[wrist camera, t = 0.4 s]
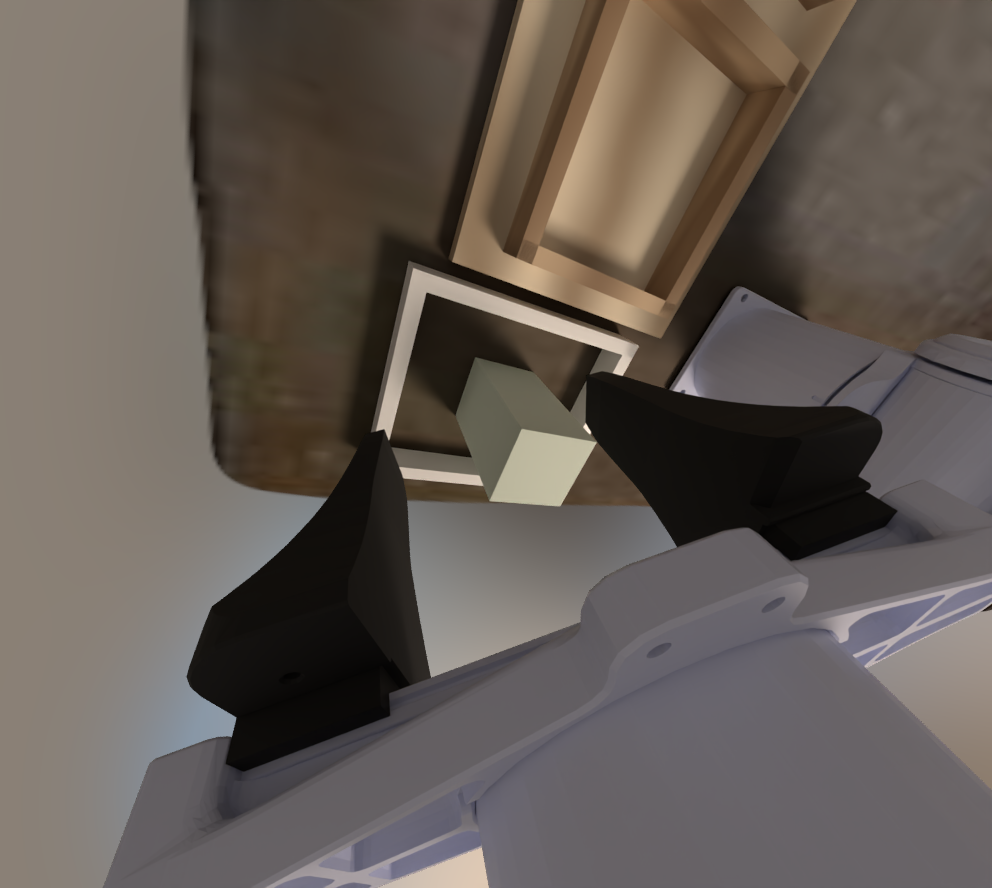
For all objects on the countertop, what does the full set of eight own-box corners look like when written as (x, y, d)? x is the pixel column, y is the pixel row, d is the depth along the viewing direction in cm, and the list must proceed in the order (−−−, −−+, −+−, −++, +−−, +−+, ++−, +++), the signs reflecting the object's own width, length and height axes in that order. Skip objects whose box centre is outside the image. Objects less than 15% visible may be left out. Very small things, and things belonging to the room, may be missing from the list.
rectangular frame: (620, 334, 23) (638, 345, 22) (546, 475, 29) (557, 492, 27) (408, 260, 18) (413, 268, 16) (365, 454, 23) (366, 474, 21)
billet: (533, 372, 23) (596, 442, 17) (510, 425, 25) (560, 506, 19) (475, 357, 21) (521, 429, 15) (455, 415, 23) (489, 500, 17)
